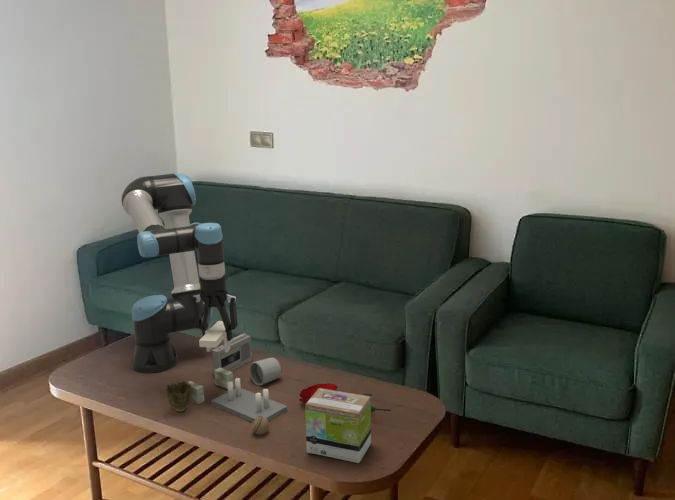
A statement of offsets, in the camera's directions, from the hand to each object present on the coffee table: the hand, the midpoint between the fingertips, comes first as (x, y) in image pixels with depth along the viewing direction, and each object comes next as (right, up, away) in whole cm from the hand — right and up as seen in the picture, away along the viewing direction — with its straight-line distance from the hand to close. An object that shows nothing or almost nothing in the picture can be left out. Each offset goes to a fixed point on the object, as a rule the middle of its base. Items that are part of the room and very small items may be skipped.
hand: (218, 350), depth 210 cm
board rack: (-4, -14, +8) cm, 17 cm away
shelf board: (0, +4, -1) cm, 4 cm away
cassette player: (+1, -10, +26) cm, 27 cm away
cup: (-11, -18, -3) cm, 21 cm away
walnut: (+14, -21, -16) cm, 30 cm away
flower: (+38, -18, -7) cm, 43 cm away
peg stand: (+9, -17, -2) cm, 19 cm away
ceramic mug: (+12, -12, +16) cm, 23 cm away
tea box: (+36, -23, -25) cm, 50 cm away
